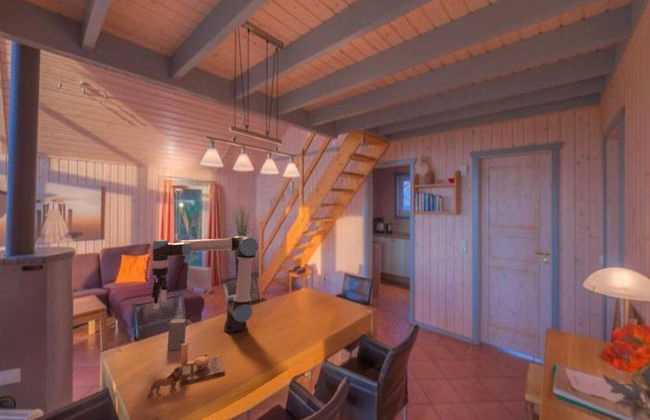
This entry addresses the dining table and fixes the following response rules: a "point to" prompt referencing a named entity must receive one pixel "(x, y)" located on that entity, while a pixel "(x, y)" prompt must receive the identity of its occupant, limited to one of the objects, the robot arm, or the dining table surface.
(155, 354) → the dining table surface
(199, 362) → the tan piece
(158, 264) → the robot arm
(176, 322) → the skincare box
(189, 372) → the board
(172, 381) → the lion figurine
